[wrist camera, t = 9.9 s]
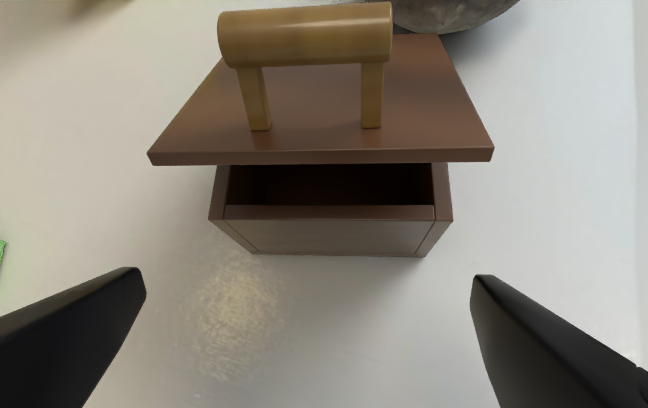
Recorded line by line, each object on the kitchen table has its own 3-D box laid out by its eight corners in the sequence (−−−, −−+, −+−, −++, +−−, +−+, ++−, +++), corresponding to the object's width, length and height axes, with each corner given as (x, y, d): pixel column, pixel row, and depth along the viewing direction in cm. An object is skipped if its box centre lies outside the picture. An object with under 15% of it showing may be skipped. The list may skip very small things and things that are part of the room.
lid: (490, 162, 11) (539, 10, 8) (152, 166, 12) (84, 36, 9) (435, 43, 19) (449, -55, 16) (235, 53, 20) (213, -36, 17)
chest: (425, 257, 22) (453, 221, 15) (251, 254, 23) (207, 219, 17) (415, 120, 26) (434, 42, 19) (267, 123, 27) (236, 52, 20)
